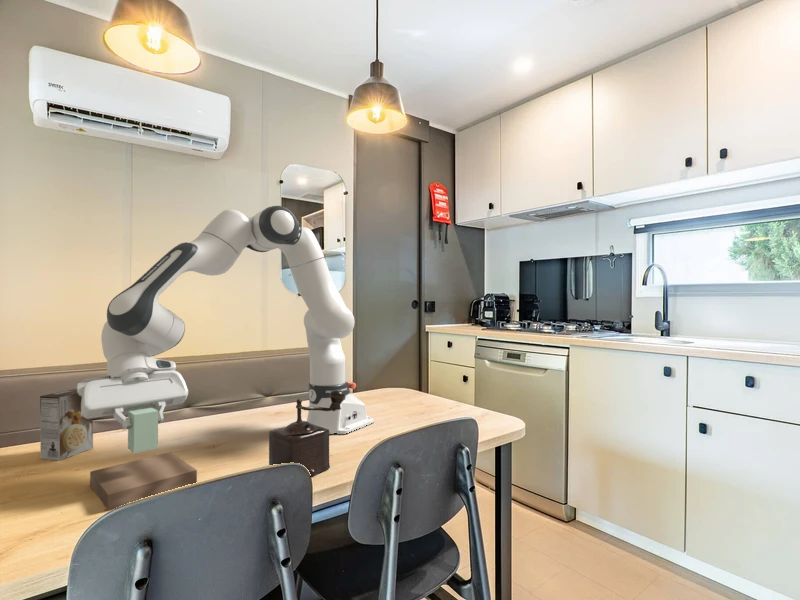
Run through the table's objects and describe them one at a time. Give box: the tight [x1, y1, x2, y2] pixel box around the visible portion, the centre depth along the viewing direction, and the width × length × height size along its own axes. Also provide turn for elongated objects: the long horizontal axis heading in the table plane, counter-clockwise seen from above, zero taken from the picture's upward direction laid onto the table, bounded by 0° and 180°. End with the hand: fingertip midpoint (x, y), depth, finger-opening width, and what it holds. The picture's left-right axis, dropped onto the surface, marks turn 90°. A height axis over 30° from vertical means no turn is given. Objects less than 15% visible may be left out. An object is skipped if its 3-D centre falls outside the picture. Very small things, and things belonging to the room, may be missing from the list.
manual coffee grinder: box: [268, 390, 346, 477], centre depth 99 cm, size 16×11×18 cm
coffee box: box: [39, 388, 94, 461], centre depth 108 cm, size 9×6×16 cm
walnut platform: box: [89, 451, 198, 512], centre depth 89 cm, size 16×16×3 cm
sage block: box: [127, 407, 159, 454], centre depth 89 cm, size 4×4×8 cm
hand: (144, 424), depth 89 cm, fingers closed on sage block, 4 cm apart
